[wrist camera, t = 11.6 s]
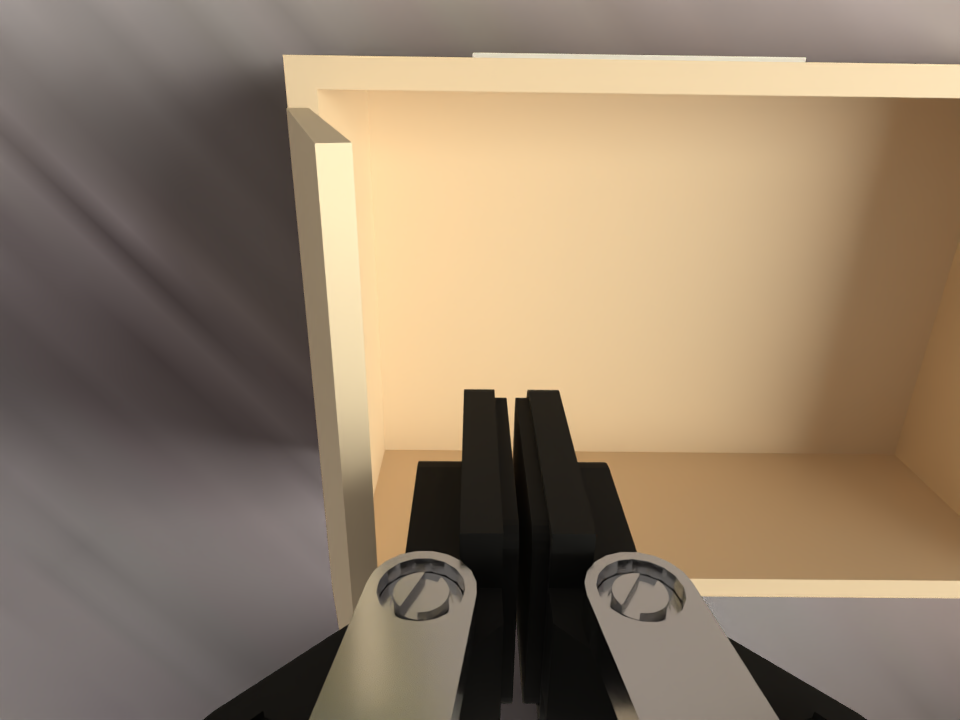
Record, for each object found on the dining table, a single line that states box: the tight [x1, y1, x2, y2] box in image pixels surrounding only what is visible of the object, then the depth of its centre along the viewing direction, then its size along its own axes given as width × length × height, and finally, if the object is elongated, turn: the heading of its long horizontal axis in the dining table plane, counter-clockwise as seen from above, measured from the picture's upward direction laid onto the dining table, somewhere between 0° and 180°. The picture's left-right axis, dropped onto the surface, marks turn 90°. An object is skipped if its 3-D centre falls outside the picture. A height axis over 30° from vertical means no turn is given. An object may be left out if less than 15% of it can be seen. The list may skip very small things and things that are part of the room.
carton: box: [283, 53, 960, 598], centre depth 19 cm, size 19×13×7 cm
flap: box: [286, 108, 378, 630], centre depth 12 cm, size 6×11×1 cm
